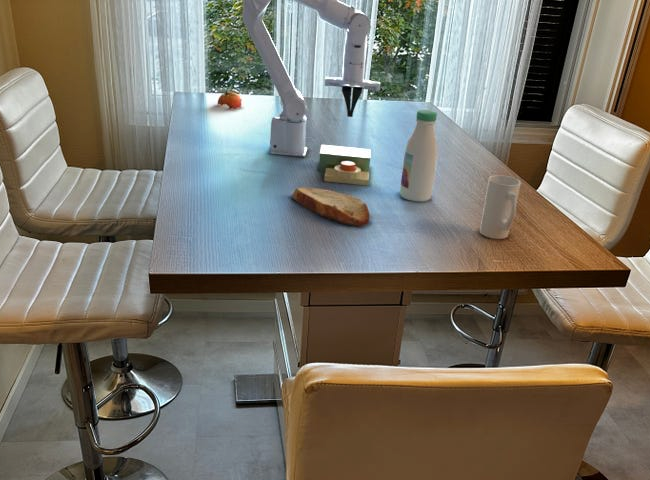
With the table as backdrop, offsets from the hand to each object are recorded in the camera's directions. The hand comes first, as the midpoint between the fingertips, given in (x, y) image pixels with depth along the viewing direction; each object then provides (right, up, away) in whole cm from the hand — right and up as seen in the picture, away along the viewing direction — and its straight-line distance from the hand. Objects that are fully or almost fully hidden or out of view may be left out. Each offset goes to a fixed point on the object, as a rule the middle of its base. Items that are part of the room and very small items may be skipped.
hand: (350, 116), depth 190 cm
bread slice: (-5, -33, -32) cm, 46 cm away
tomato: (-39, +17, +40) cm, 58 cm away
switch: (-1, -19, -15) cm, 24 cm away
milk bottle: (+16, -27, -19) cm, 36 cm away
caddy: (-1, -16, -6) cm, 17 cm away
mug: (+32, -39, -37) cm, 63 cm away
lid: (-1, -13, -8) cm, 15 cm away
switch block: (-1, -20, -13) cm, 24 cm away
